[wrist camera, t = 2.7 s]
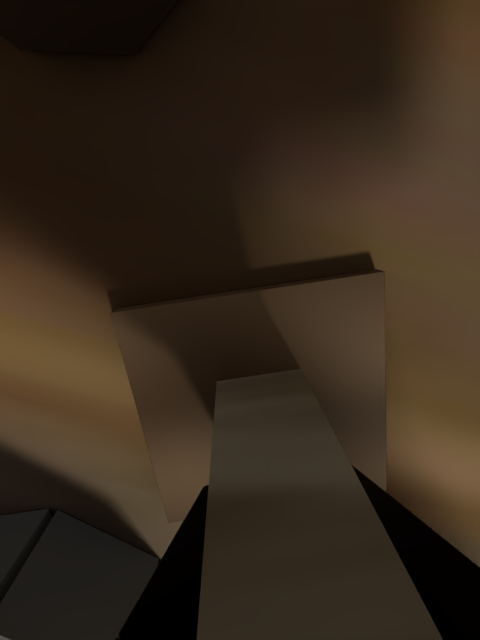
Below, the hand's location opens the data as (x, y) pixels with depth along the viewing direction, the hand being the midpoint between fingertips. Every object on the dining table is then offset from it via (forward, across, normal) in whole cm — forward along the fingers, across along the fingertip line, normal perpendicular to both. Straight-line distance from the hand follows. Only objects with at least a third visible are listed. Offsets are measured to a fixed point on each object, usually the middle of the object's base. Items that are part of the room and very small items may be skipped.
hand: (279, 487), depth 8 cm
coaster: (+4, 0, 0) cm, 4 cm away
